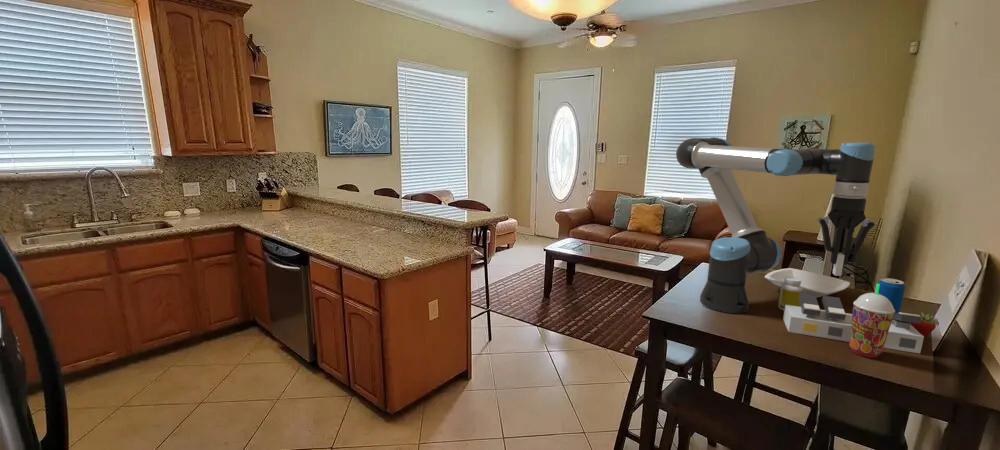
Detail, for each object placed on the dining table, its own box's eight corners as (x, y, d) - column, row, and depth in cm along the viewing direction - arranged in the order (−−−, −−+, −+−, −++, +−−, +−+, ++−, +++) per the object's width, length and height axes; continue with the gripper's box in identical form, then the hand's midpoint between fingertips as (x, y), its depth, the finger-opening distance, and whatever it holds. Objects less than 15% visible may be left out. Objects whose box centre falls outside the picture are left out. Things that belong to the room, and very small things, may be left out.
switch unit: (788, 332, 125) (792, 312, 124) (783, 319, 134) (785, 300, 133) (920, 354, 113) (925, 331, 111) (904, 337, 122) (908, 317, 120)
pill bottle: (803, 313, 139) (808, 282, 136) (784, 312, 139) (789, 281, 137) (792, 305, 145) (796, 275, 143) (773, 305, 145) (778, 275, 143)
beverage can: (903, 320, 133) (911, 284, 131) (880, 318, 135) (887, 283, 132) (889, 311, 140) (896, 278, 137) (867, 310, 141) (874, 276, 138)
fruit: (928, 343, 118) (934, 317, 117) (903, 336, 123) (909, 310, 121) (935, 339, 121) (941, 314, 119) (910, 332, 125) (916, 307, 124)
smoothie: (836, 346, 117) (849, 279, 113) (864, 344, 118) (877, 278, 114) (864, 361, 109) (879, 290, 105) (893, 360, 110) (909, 289, 105)
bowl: (785, 279, 172) (787, 266, 170) (854, 297, 152) (857, 282, 151) (756, 289, 160) (758, 275, 159) (827, 310, 141) (830, 295, 140)
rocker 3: (901, 320, 114) (901, 312, 114) (887, 317, 122) (888, 310, 122) (920, 323, 112) (921, 315, 112) (905, 320, 120) (906, 312, 120)
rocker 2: (827, 317, 122) (829, 311, 121) (821, 300, 128) (823, 294, 127) (844, 320, 120) (846, 314, 119) (837, 302, 127) (839, 296, 126)
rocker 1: (802, 313, 124) (804, 307, 123) (798, 297, 131) (799, 291, 130) (819, 316, 122) (820, 310, 122) (813, 299, 129) (815, 293, 128)
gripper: (825, 197, 119) (813, 275, 124) (883, 199, 114) (868, 281, 118) (818, 194, 126) (807, 268, 131) (873, 196, 120) (860, 273, 125)
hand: (836, 274), depth 124 cm, fingers closed
